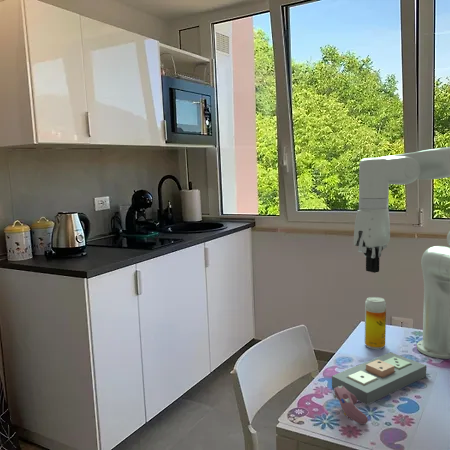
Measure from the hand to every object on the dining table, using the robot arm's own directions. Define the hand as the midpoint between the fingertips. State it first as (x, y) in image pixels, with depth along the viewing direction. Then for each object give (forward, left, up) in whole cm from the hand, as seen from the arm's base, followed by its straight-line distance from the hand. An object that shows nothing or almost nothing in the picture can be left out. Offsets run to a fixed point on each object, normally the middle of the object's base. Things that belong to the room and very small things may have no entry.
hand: (372, 271), depth 126 cm
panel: (+6, +7, -27) cm, 29 cm away
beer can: (-12, -8, -27) cm, 31 cm away
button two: (+6, +7, -26) cm, 27 cm away
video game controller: (+24, +13, -27) cm, 39 cm away
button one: (+13, +8, -27) cm, 31 cm away
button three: (-1, +8, -27) cm, 28 cm away
